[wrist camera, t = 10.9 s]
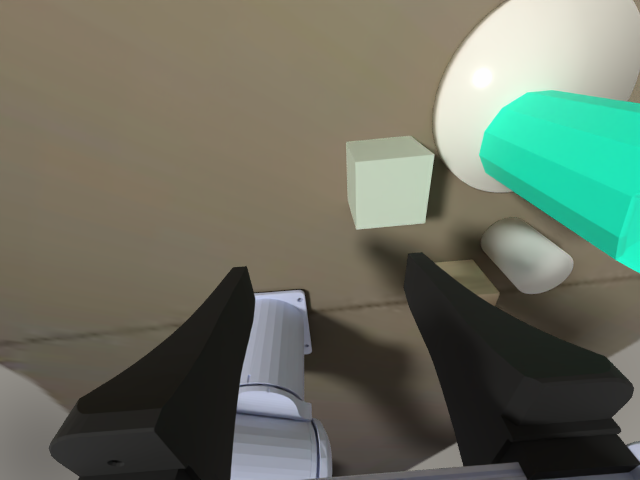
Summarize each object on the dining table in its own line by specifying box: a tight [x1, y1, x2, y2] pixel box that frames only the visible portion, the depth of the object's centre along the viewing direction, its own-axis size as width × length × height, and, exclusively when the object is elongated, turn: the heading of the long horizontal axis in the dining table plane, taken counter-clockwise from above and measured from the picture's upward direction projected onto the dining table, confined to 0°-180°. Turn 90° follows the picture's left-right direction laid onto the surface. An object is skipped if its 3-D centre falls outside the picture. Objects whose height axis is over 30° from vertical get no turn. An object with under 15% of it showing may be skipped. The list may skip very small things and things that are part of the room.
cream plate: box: [432, 0, 640, 192], centre depth 18 cm, size 12×12×1 cm
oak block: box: [435, 259, 500, 306], centre depth 26 cm, size 4×4×4 cm
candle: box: [479, 90, 640, 273], centre depth 14 cm, size 6×6×12 cm
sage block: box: [346, 136, 434, 229], centre depth 19 cm, size 4×4×4 cm
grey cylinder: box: [481, 217, 573, 294], centre depth 23 cm, size 4×4×5 cm
